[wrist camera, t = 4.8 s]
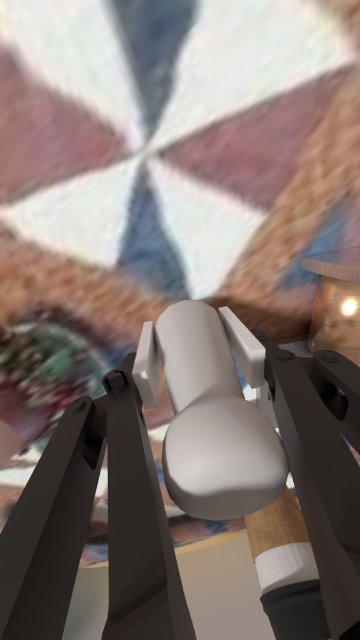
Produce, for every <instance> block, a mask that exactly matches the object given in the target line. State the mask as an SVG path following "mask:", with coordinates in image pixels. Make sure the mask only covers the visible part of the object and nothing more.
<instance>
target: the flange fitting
mask: <svg viewBox="0 0 360 640" xmlns="http://www.w3.org/2000/svg"><path fill="white" fill-rule="evenodd" d="M298 269H301V270H305V271H309V272H313V273H317V274H318V280H317V286H316V293H315V299H314V306H313V312H312V319H311V325H310V332H309V334H305V335H300V336H295V337H289V338H284V339H278V340H273V342H274V343H275V344H276V345H277V346H278V347H279V348H280V349H282V350H288V351H291V352H292V353H294V354H295V355H296V356H297V357H313V356H314V353H315V352H316V351H318V350H332V351H335V352H338V353H340V354H342V355H344V356H345V357H346V358H348V359H349V360H351V361H352V362H353V363H355V364H356V365H358V366H359V367H360V246H358V247H353V248H347V249H342V250H337V251H332V252H327V253H321V254H316V255H311V256H306V257H301V258H299V267H298ZM268 386H269V384H268V383H267V382H266V380H264V386H263V387H258V388H257V404H256V406H258V407H259V408H260V409H261V410H262V412H263V413H264V414H265V416H266V417H267V419H268V420H269V421H270V423H271V424H272V426H273V427H274V428H278V424H277V420H276V417H275V413H274V409H273V406H272V402H271V399H270V401H269V400H268ZM340 391H341V390H340ZM341 392H342V391H341ZM342 393H343V392H342ZM343 394H344V393H343ZM344 395H345V394H344ZM340 433H341V432H340Z"/></svg>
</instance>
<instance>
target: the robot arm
mask: <svg viewBox="0 0 360 640" xmlns="http://www.w3.org/2000/svg"><path fill="white" fill-rule="evenodd" d="M218 311H219V316H220V318H221V319H222V321H223V323H224V327H225V330H226V334H227V337H228V341H229V344H230V348H231V351H232V355H233V357H234V359H235V361H236V362H237V364H238V366H239V367H240V369H241V371H242V373H243V374H244V376H245V378H246V380H247V381H248V383H249V385H250V386H251V388H252V389H253V388H258V387H263V386H264V380H266V382H267V383H268V384H269V386H268V400H269V401H270V399H271V402H272V406H273V409H274V413H275V417H276V420H277V424H278V428H279V431H280V435H281V438H282V442H283V445H284V447H285V450H286V453H287V455H288V458H289V460H290V471H291V475H292V478H293V482H294V486H295V489H296V493H297V496H298V500H299V504H300V507H301V511H302V515H303V518H304V522H305V525H306V529H307V533H308V536H309V540H310V544H311V547H312V551H313V554H314V558H315V562H316V565H317V569H318V574H319V579H320V588H321V595H322V600H323V606H324V610H325V614H326V618H327V622H328V626H329V630H330V633H331V637H332V640H360V467H359V465H358V463H357V461H356V459H355V458H354V456H353V454H352V452H351V451H350V449H349V447H348V445H347V444H346V442H345V440H344V438H343V437H342V435H343V436H344V437H345V438H346V440H347V441H348V442H349V443H350V444H351V445H352V447H353V448H354V449H355V450H356V451H357V453H358V454H359V455H360V367H359V366H358V365H356V364H355V363H353V362H352V361H351V360H349V359H348V358H346V357H345V356H344V355H342V354H340V353H338V352H335V351H332V350H318V351H316V352H315V353H314V356H313V357H297V356H296V355H295V354H294V353H292V352H291V351H288V350H282V349H280V348H279V347H278V346H277V345H276V344H275V343H274V342H273V341H272V340H271V339H270V338H269V337H268V336H266V334H265V333H263V332H262V331H260V330H258V329H251V330H248V329H247V328H246V327H245V326H244V325H243V323H242V322H241V321H240V320H239V319H238V318H237V317H236V316H235V315H234V314H233V312H232V311H231V310H230V309H229V308H228V307H227V306H226V307H220V308H218ZM154 330H155V327H154V323H153V321H148V322H144V325H143V329H142V333H141V338H140V342H139V346H138V350H137V352H135V353H130V354H128V355H127V356H126V357H125V358H124V360H123V363H122V364H123V365H122V366H121V369H115V370H112V371H110V372H109V373H107V374H106V375H105V376H104V377H103V379H102V384H103V386H104V388H105V390H106V392H107V394H106V395H104V396H102V397H100V398H97V399H95V400H93V401H92V399H91V397H89V396H83V397H80V398H78V399H76V400H74V401H73V402H72V403H71V404H69V405H68V407H67V408H66V410H65V412H64V414H63V415H62V417H61V419H60V421H59V423H58V425H57V427H56V429H55V431H54V433H53V435H52V436H51V438H50V440H49V442H48V444H47V446H46V448H45V450H44V452H43V454H42V456H41V458H40V459H39V461H38V463H37V465H36V467H35V469H34V471H33V473H32V475H31V477H30V479H29V480H28V482H27V484H26V486H25V488H24V490H23V492H22V494H21V496H20V498H19V500H18V501H17V503H16V505H15V507H14V509H13V511H12V513H11V515H10V517H9V519H8V521H7V523H6V524H5V526H4V528H3V530H2V532H1V534H0V640H61V639H62V635H63V631H64V626H65V622H66V617H67V614H68V609H69V605H70V601H71V596H72V592H73V588H74V584H75V579H76V574H77V571H78V566H79V562H80V558H81V556H82V554H83V552H84V550H85V547H86V543H87V539H88V535H89V527H88V523H89V519H90V515H91V510H92V506H93V502H94V497H95V493H96V489H97V484H98V480H99V476H100V472H101V467H102V463H103V459H104V454H105V450H106V446H107V448H108V562H109V610H108V617H107V621H106V624H105V627H104V630H103V633H102V639H101V640H196V635H195V631H194V627H193V624H192V620H191V617H190V613H189V610H188V606H187V603H186V599H185V595H184V591H183V587H182V582H181V578H180V574H179V570H178V565H177V560H176V556H175V551H174V547H173V543H172V538H171V534H170V529H169V525H168V521H167V516H166V512H165V507H164V503H163V499H162V494H161V490H160V486H159V481H158V477H157V472H156V468H155V464H154V459H153V455H152V450H151V446H150V442H149V437H148V433H147V428H146V424H145V420H144V415H143V413H142V403H143V406H144V409H150V408H155V407H157V400H158V376H159V352H158V348H157V344H156V340H155V336H154ZM340 390H341V391H342V392H343V393H344V394H345V395H344V394H343V393H342V392H341V391H340ZM340 432H341V433H340ZM341 434H342V435H341Z"/></svg>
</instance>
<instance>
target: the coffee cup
mask: <svg viewBox="0 0 360 640" xmlns="http://www.w3.org/2000/svg"><path fill="white" fill-rule="evenodd" d="M244 519H245V524H246V529H247V533H248V538H249V543H250V547H251V553H252V557H253V562H254V564H256V567H257V572H258V576H259V580H260V585H261V589H262V594H263V595H262V596H261V598H260V601H261V603H262V605H263V610H264V612H265V613H266V614H267V615H268V617H269V620H270V623H271V626H272V629H273V632H274V635H275V638H276V640H332V637H331V633H330V630H329V626H328V622H327V618H326V614H325V610H324V606H323V600H322V595H321V588H320V579H319V574H318V569H317V565H316V562H315V558H314V554H313V551H312V547H311V544H310V540H309V536H308V533H307V529H306V525H305V522H304V518H303V515H302V512H301V510H300V508H299V507H298V505H297V503H296V501H295V500H294V498H293V496H292V494H291V492H290V491H289V489H288V487H287V485H286V486H285V490H284V492H283V493H282V494H281V495H280V496H279V497H278V498H277V499H276V500H275V501H274V502H273V503H272V504H270V505H268V506H267V507H265V508H263V509H261V510H259V511H257V512H255V513H253V514H251V515H247V516H244Z"/></svg>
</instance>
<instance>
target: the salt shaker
mask: <svg viewBox="0 0 360 640" xmlns="http://www.w3.org/2000/svg"><path fill="white" fill-rule="evenodd" d="M154 336H155V340H156V344H157V348H158V352H159V355H160V359H161V363H162V367H163V371H164V375H165V379H166V382H167V386H168V390H169V394H170V398H171V402H172V406H173V410H174V413H175V416H174V417H173V418H172V421H171V423H170V425H169V427H168V430H167V432H166V434H165V437H164V440H163V451H162V465H163V472H164V479H165V485H166V488H167V491H168V493H169V496H170V498H171V499H172V501H173V502H174V503H175V504H176V505H177V506H178V507H179V508H180V509H181V510H182V511H184V512H185V513H187V514H189V515H190V516H192V517H194V518H201V519H207V520H227V519H236V518H240V517H244V516H247V515H251V514H253V513H255V512H257V511H259V510H261V509H263V508H265V507H267V506H268V505H270V504H272V503H273V502H274V501H275V500H276V499H277V498H278V497H279V496H280V495H281V494H282V493H283V492H284V490H285V486H286V481H287V477H288V472H289V467H290V460H289V458H288V455H287V453H286V450H285V447H284V445H283V442H282V440H281V439H280V437H279V435H278V434H277V432H276V431H275V429H274V427H273V426H272V424H271V423H270V421H269V420H268V419H267V417H266V416H265V414H264V413H263V412H262V410H261V409H260V408H259V407H258V406H256V405H255V404H254V403H251V402H249V401H247V400H245V397H244V394H243V390H242V387H241V383H240V380H239V376H238V373H237V369H236V366H235V362H234V359H233V355H232V351H231V348H230V344H229V341H228V337H227V334H226V330H225V327H224V323H223V321H222V319H221V318H220V316H219V315H218V313H217V311H216V310H215V309H214V308H212V307H211V306H209V305H207V304H205V303H204V302H202V301H198V300H182V301H180V302H177V303H175V304H172V305H170V306H169V307H168V308H167V309H166V310H165V311H164V312H163V313H162V314H161V315H160V316H159V318H158V321H157V324H156V327H155V330H154Z"/></svg>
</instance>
